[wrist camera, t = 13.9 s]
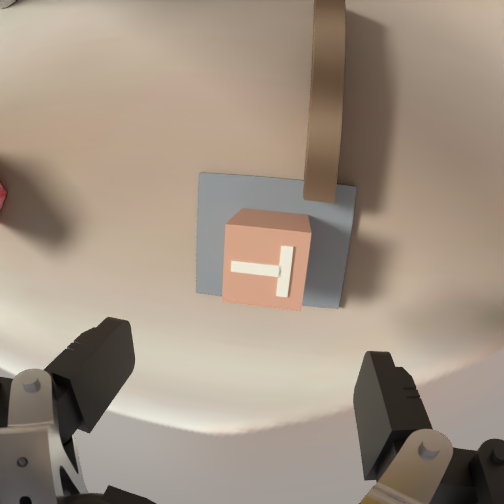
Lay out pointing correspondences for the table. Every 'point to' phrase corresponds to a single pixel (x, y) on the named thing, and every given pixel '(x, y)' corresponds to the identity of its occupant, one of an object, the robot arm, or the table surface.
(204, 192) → the slate mat
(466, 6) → the table surface
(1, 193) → the ink box
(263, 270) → the terracotta block
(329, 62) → the walnut screen
